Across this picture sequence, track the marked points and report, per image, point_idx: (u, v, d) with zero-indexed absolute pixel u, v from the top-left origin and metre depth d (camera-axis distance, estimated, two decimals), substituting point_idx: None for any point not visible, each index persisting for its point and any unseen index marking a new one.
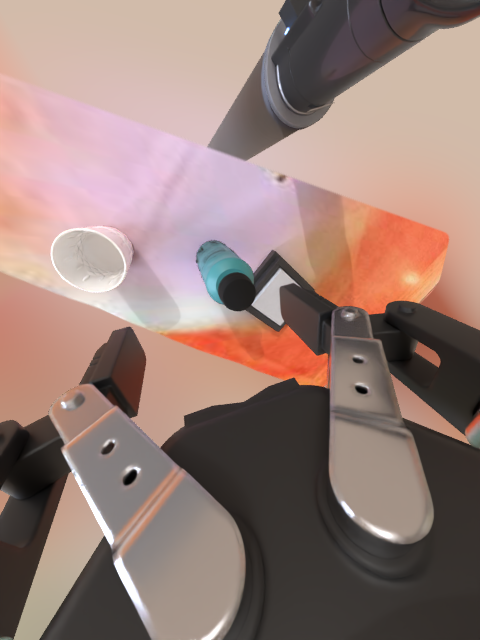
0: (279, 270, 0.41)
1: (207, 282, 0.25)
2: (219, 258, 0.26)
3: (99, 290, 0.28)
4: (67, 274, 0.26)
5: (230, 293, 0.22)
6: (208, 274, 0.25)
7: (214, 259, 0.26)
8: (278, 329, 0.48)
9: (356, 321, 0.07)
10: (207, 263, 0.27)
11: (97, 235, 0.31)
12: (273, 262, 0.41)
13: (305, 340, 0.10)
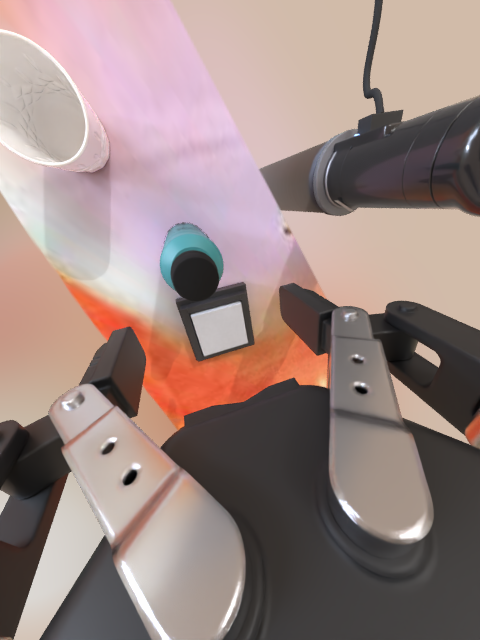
0: (238, 302, 0.38)
1: (168, 245, 0.19)
2: (199, 234, 0.21)
3: (11, 147, 0.17)
4: None
5: (188, 269, 0.16)
6: (176, 238, 0.19)
7: (192, 232, 0.21)
8: (199, 359, 0.42)
9: (356, 321, 0.07)
10: (181, 231, 0.22)
11: (72, 108, 0.23)
12: (237, 292, 0.38)
13: (305, 340, 0.10)
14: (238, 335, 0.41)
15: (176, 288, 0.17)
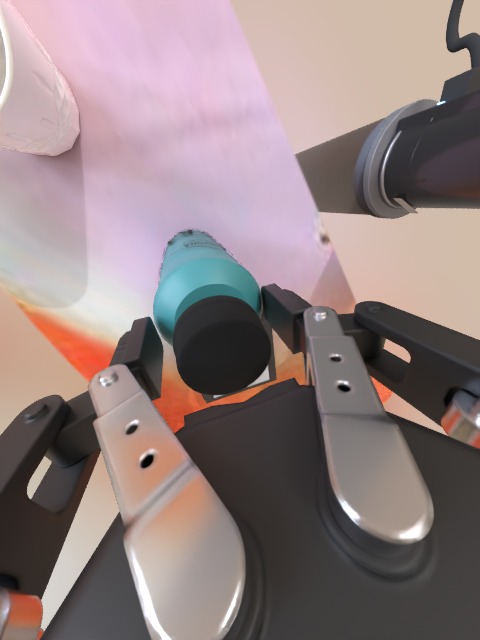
0: None
1: (168, 280, 0.10)
2: (222, 256, 0.12)
3: None
4: None
5: (213, 344, 0.07)
6: (183, 266, 0.10)
7: (210, 252, 0.12)
8: (208, 400, 0.33)
9: (324, 320, 0.07)
10: (191, 250, 0.13)
11: None
12: None
13: (283, 339, 0.10)
14: None
15: (185, 379, 0.08)
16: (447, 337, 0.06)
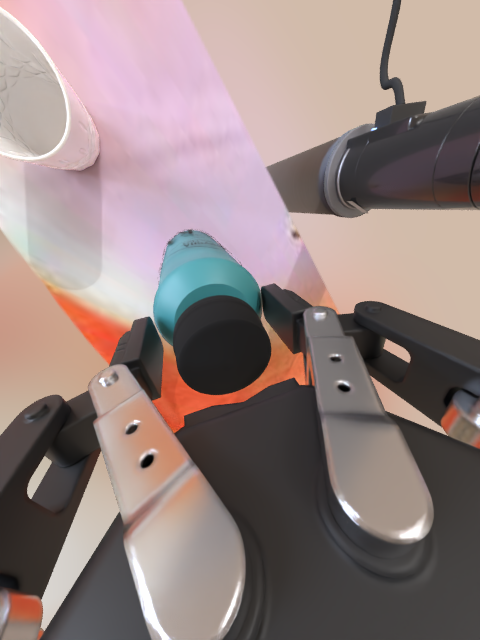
0: None
1: (168, 280, 0.10)
2: (222, 256, 0.12)
3: None
4: None
5: (213, 344, 0.07)
6: (183, 266, 0.10)
7: (210, 252, 0.12)
8: None
9: (324, 320, 0.07)
10: (191, 250, 0.13)
11: (55, 96, 0.20)
12: None
13: (283, 339, 0.10)
14: None
15: (185, 379, 0.08)
16: (447, 338, 0.06)
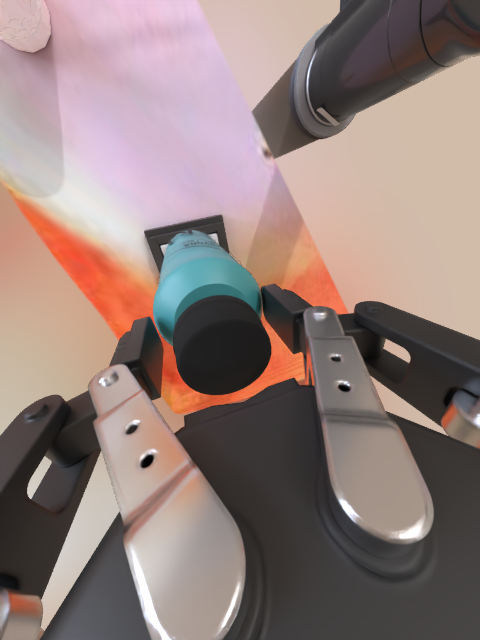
0: (213, 234, 0.34)
1: (168, 280, 0.10)
2: (222, 256, 0.12)
3: None
4: None
5: (213, 344, 0.07)
6: (183, 266, 0.10)
7: (210, 251, 0.12)
8: None
9: (324, 320, 0.07)
10: (191, 250, 0.13)
11: None
12: (213, 223, 0.35)
13: (283, 339, 0.10)
14: None
15: (185, 379, 0.08)
16: (447, 337, 0.06)
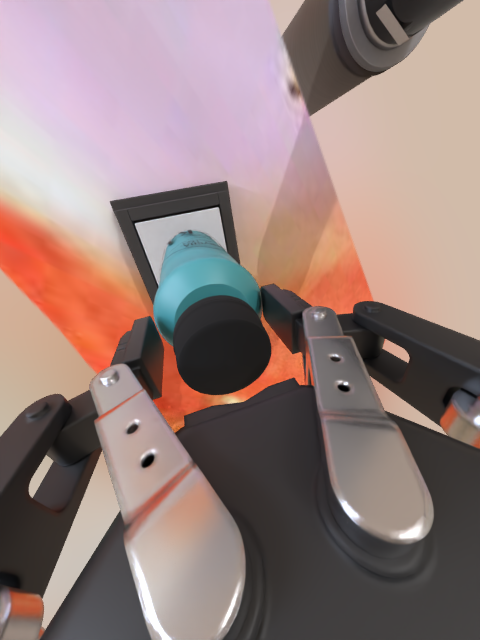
0: (214, 208, 0.24)
1: (168, 280, 0.10)
2: (222, 256, 0.12)
3: None
4: None
5: (213, 344, 0.07)
6: (183, 266, 0.10)
7: (210, 252, 0.12)
8: None
9: (323, 320, 0.07)
10: (191, 250, 0.13)
11: None
12: (214, 192, 0.24)
13: (283, 339, 0.10)
14: None
15: (185, 379, 0.08)
16: (446, 337, 0.06)
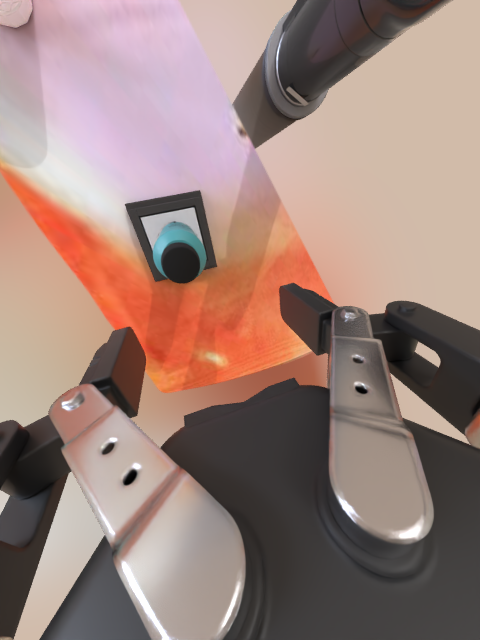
0: None
1: (159, 239, 0.23)
2: (185, 230, 0.25)
3: None
4: None
5: (174, 256, 0.21)
6: (165, 233, 0.23)
7: (180, 228, 0.25)
8: (156, 276, 0.40)
9: (356, 321, 0.07)
10: (171, 228, 0.26)
11: None
12: (191, 198, 0.37)
13: (305, 340, 0.10)
14: None
15: (165, 272, 0.21)
16: None
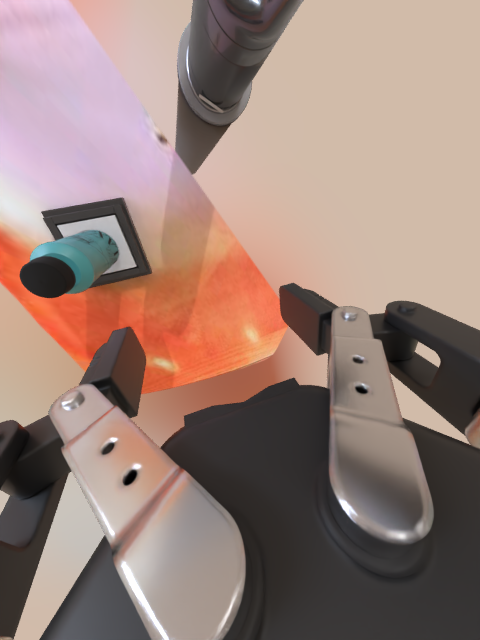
0: None
1: (33, 251, 0.23)
2: (67, 242, 0.24)
3: None
4: None
5: (31, 271, 0.20)
6: (39, 245, 0.23)
7: (64, 240, 0.25)
8: None
9: (356, 321, 0.07)
10: None
11: None
12: (112, 205, 0.36)
13: (305, 340, 0.10)
14: (122, 256, 0.39)
15: (26, 287, 0.21)
16: None
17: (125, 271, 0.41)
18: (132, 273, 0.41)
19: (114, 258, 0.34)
